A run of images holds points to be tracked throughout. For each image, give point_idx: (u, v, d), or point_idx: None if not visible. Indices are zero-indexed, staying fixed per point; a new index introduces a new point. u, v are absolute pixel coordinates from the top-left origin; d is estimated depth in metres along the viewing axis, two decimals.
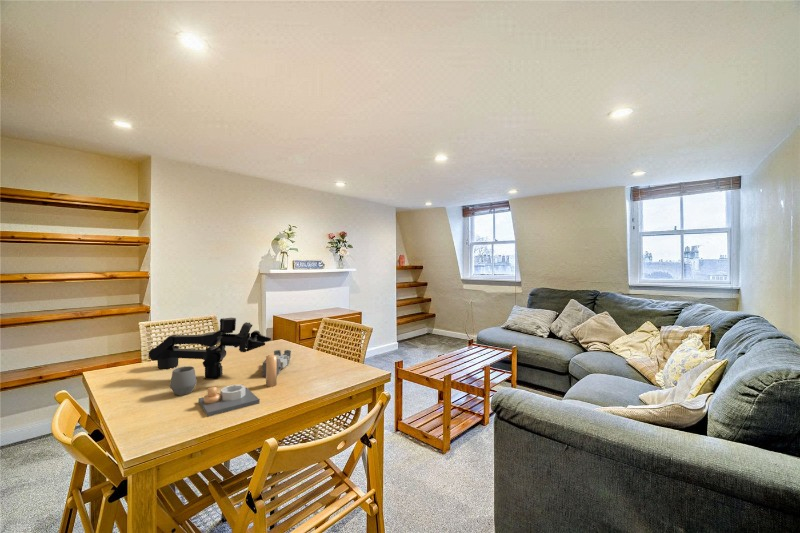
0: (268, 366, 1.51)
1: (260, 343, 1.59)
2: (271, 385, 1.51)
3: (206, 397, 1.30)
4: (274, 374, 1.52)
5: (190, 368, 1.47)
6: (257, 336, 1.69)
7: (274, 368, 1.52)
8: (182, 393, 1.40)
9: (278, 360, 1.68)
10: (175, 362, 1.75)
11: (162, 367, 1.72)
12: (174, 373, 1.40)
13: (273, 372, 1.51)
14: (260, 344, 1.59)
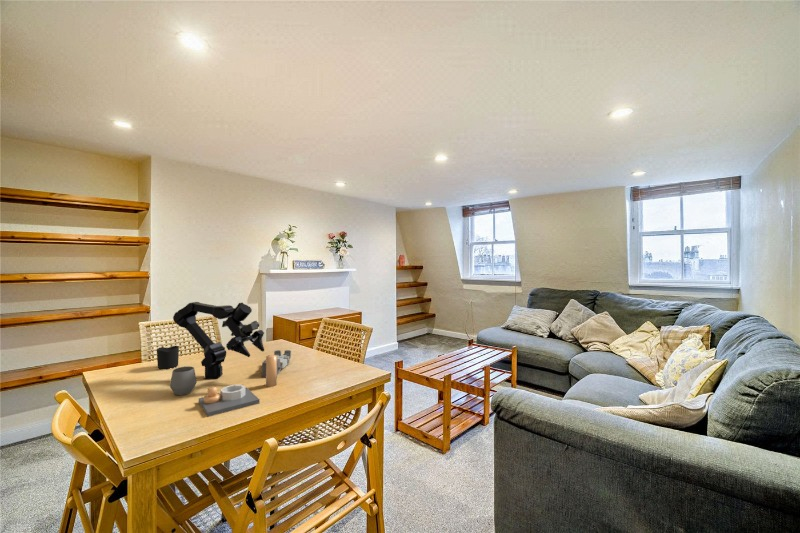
0: (268, 366, 1.51)
1: (246, 352, 1.50)
2: (271, 385, 1.51)
3: (206, 397, 1.30)
4: (274, 374, 1.52)
5: (190, 368, 1.47)
6: (257, 338, 1.61)
7: (274, 368, 1.52)
8: (182, 393, 1.40)
9: (278, 360, 1.68)
10: (175, 362, 1.75)
11: (162, 367, 1.72)
12: (174, 373, 1.40)
13: (273, 372, 1.51)
14: (246, 353, 1.50)
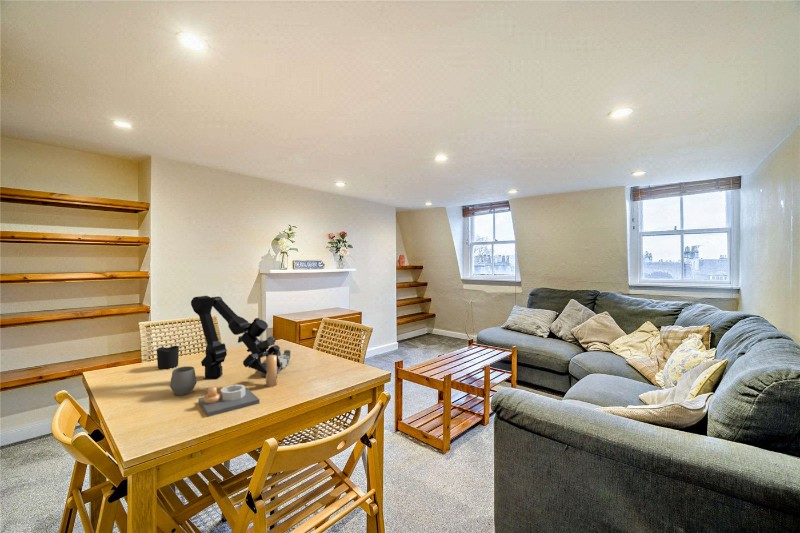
0: (268, 366, 1.51)
1: (263, 369, 1.48)
2: (271, 385, 1.51)
3: (206, 397, 1.30)
4: (274, 374, 1.52)
5: (190, 368, 1.47)
6: (273, 354, 1.59)
7: (274, 368, 1.52)
8: (182, 393, 1.40)
9: None
10: (175, 362, 1.75)
11: (162, 367, 1.72)
12: (174, 373, 1.40)
13: (273, 372, 1.51)
14: (262, 370, 1.48)
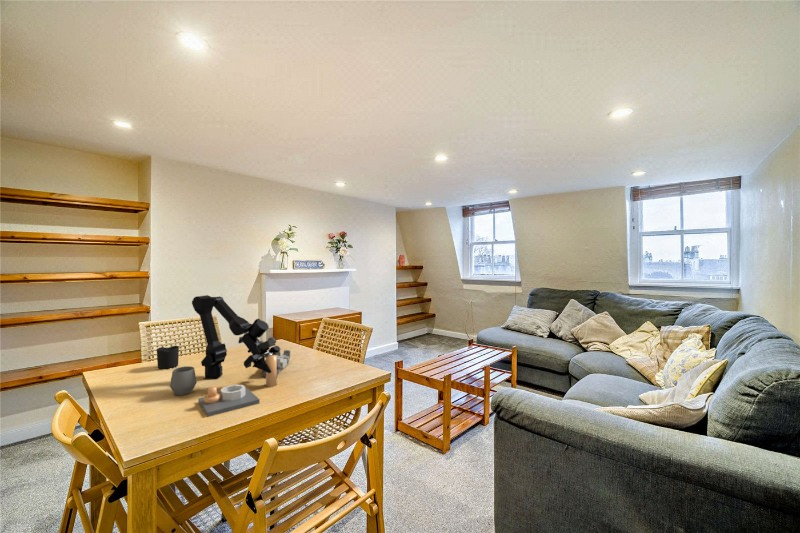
0: (268, 366, 1.51)
1: (267, 369, 1.50)
2: (271, 385, 1.51)
3: (206, 397, 1.30)
4: (274, 374, 1.52)
5: (190, 368, 1.47)
6: None
7: (274, 368, 1.52)
8: (182, 393, 1.40)
9: (278, 360, 1.68)
10: (175, 362, 1.75)
11: (162, 367, 1.72)
12: (174, 373, 1.40)
13: (273, 372, 1.51)
14: (266, 369, 1.50)
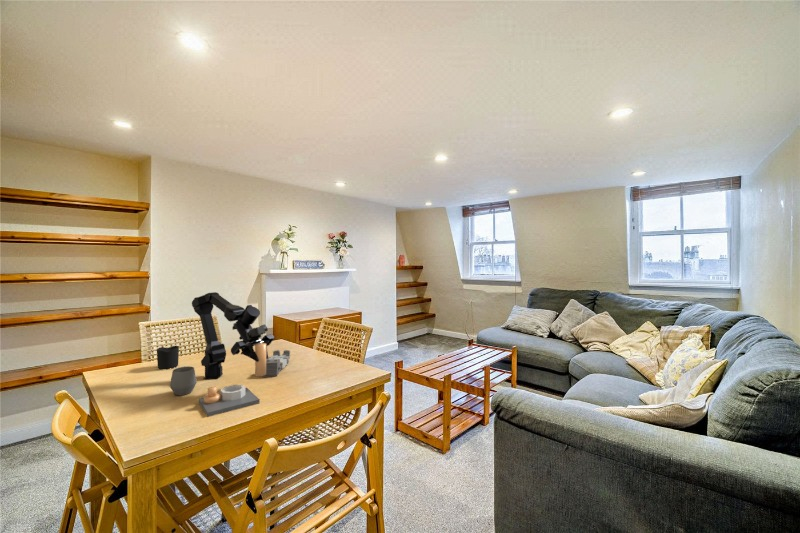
0: (256, 354, 1.44)
1: (255, 357, 1.44)
2: (259, 374, 1.44)
3: (206, 397, 1.30)
4: (263, 363, 1.45)
5: (190, 368, 1.47)
6: None
7: (263, 356, 1.45)
8: (182, 393, 1.40)
9: (278, 360, 1.68)
10: (175, 362, 1.75)
11: (162, 367, 1.72)
12: (174, 373, 1.40)
13: (261, 361, 1.45)
14: (254, 358, 1.44)
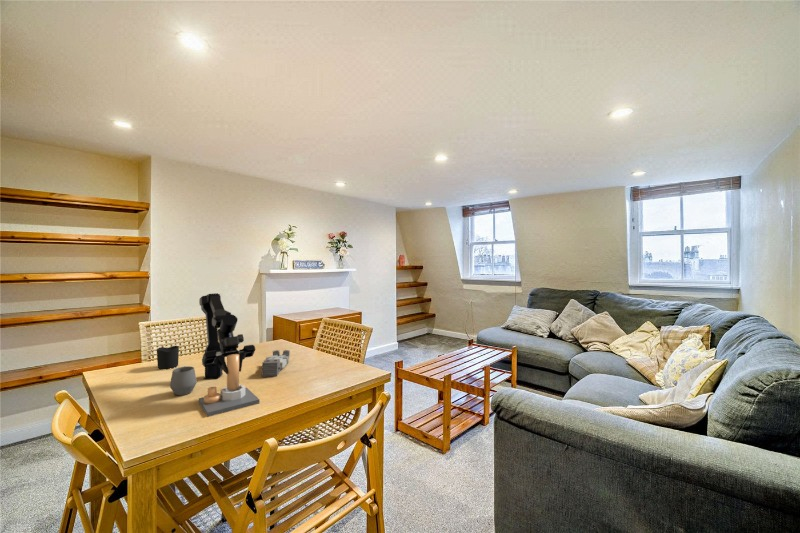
0: (227, 366, 1.35)
1: (224, 369, 1.34)
2: (229, 388, 1.35)
3: (206, 397, 1.30)
4: (233, 376, 1.35)
5: (190, 368, 1.47)
6: (239, 355, 1.40)
7: (233, 369, 1.35)
8: (182, 393, 1.40)
9: (278, 360, 1.67)
10: (175, 362, 1.75)
11: (162, 367, 1.72)
12: (174, 373, 1.40)
13: (231, 374, 1.35)
14: (225, 369, 1.35)
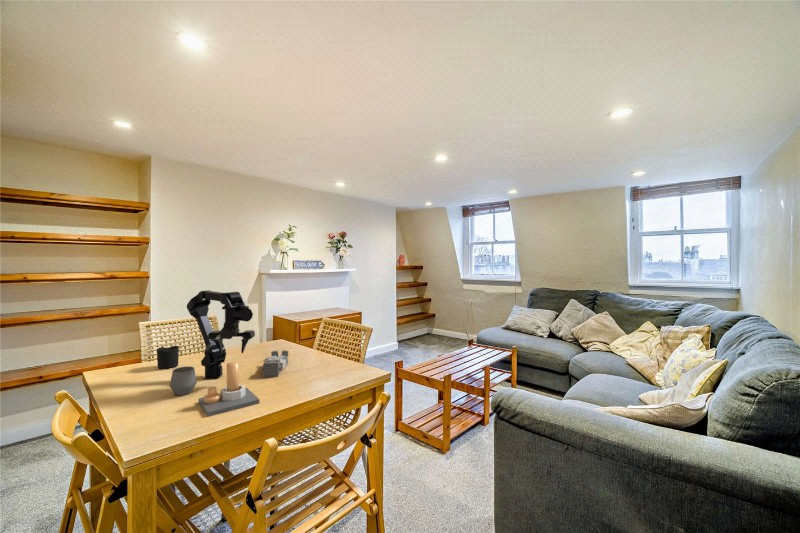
0: (227, 374, 1.35)
1: None
2: None
3: (206, 397, 1.30)
4: (232, 384, 1.35)
5: (190, 368, 1.47)
6: None
7: (233, 377, 1.35)
8: (182, 393, 1.40)
9: (278, 361, 1.67)
10: (175, 362, 1.75)
11: (162, 367, 1.72)
12: (174, 373, 1.40)
13: (231, 382, 1.35)
14: None
